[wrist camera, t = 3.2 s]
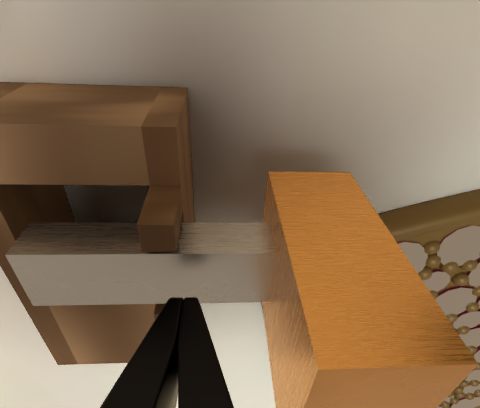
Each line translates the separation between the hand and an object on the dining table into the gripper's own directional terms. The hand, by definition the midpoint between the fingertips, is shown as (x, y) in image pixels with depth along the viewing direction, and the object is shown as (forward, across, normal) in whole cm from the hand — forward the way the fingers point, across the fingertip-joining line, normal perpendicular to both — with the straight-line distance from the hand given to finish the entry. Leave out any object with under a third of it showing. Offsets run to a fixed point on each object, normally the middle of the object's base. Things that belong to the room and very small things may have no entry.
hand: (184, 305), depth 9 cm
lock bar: (+4, 0, 0) cm, 4 cm away
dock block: (+7, +4, +2) cm, 8 cm away
